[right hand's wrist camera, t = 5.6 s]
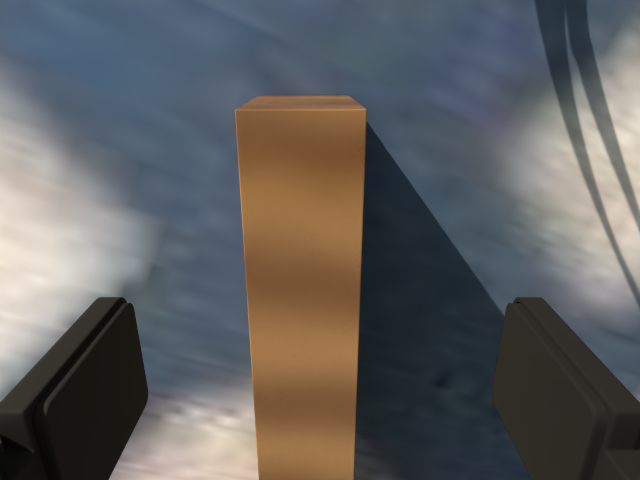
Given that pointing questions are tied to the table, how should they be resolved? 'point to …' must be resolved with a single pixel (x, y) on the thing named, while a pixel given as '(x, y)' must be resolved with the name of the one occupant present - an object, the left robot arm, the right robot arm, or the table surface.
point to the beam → (303, 278)
